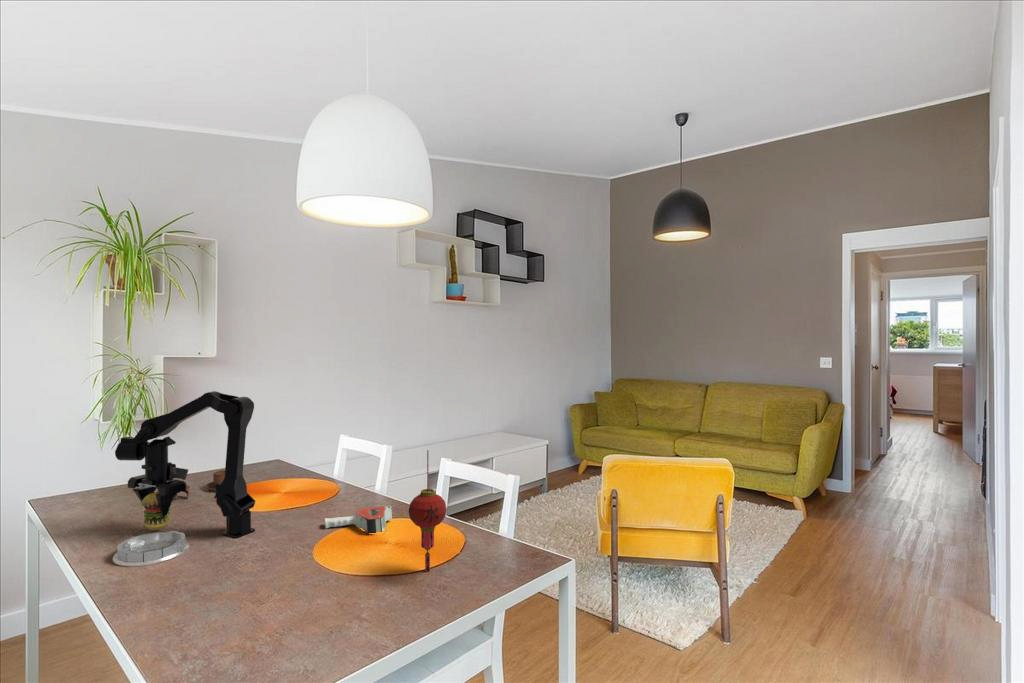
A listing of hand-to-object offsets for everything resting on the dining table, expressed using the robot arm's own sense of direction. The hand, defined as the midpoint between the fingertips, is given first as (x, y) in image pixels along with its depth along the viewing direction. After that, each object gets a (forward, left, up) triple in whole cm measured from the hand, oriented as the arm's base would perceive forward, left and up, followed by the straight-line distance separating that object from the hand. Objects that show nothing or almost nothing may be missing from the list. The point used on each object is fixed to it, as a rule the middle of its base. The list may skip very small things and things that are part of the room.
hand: (157, 513), depth 161 cm
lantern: (-86, -13, -6) cm, 87 cm away
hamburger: (0, 0, -4) cm, 4 cm away
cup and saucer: (+23, -39, -6) cm, 46 cm away
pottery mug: (+25, -20, -6) cm, 33 cm away
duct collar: (-14, +10, -6) cm, 18 cm away
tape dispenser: (-51, -30, -6) cm, 60 cm away
